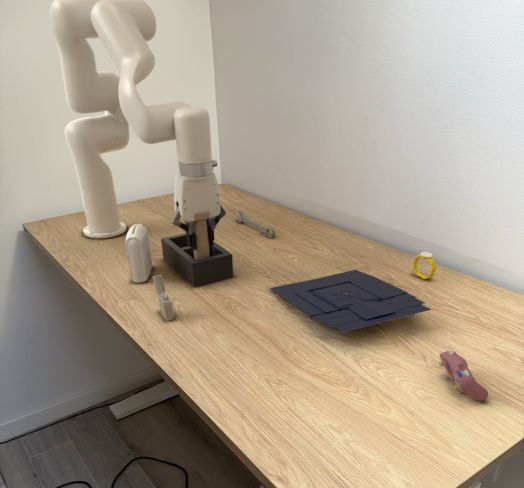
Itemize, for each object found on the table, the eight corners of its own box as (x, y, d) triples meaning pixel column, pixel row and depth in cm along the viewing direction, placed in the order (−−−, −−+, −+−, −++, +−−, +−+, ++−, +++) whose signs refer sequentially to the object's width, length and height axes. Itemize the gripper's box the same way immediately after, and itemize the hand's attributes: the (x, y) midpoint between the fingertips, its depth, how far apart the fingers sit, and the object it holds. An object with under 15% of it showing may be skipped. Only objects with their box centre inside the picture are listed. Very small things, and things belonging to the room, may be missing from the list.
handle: (208, 262, 131) (204, 204, 123) (216, 272, 126) (212, 213, 118) (189, 265, 129) (184, 207, 121) (197, 276, 125) (192, 215, 116)
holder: (163, 259, 136) (160, 238, 133) (199, 251, 141) (197, 230, 137) (194, 287, 122) (192, 263, 119) (233, 276, 126) (232, 254, 123)
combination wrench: (275, 227, 147) (238, 207, 160) (271, 227, 146) (235, 208, 160) (275, 239, 149) (238, 219, 162) (271, 240, 148) (235, 220, 162)
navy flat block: (335, 348, 96) (335, 330, 94) (269, 299, 121) (268, 284, 119) (438, 320, 104) (439, 303, 103) (356, 279, 129) (356, 265, 127)
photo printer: (137, 266, 133) (129, 219, 126) (153, 266, 133) (147, 219, 126) (130, 283, 124) (121, 234, 117) (147, 283, 124) (140, 234, 117)
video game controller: (442, 376, 93) (431, 348, 89) (466, 365, 92) (456, 337, 88) (465, 411, 85) (453, 382, 81) (491, 400, 84) (481, 370, 80)
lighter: (174, 319, 109) (169, 285, 105) (166, 321, 108) (161, 286, 104) (164, 305, 114) (159, 272, 110) (156, 306, 114) (152, 273, 110)
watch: (409, 274, 126) (412, 251, 123) (416, 271, 127) (420, 248, 124) (427, 282, 122) (431, 259, 119) (435, 279, 123) (440, 256, 120)
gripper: (221, 160, 120) (224, 234, 131) (153, 170, 113) (163, 248, 123) (236, 167, 115) (238, 244, 125) (166, 178, 108) (175, 258, 118)
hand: (201, 245), depth 124 cm, fingers closed on handle, 3 cm apart
